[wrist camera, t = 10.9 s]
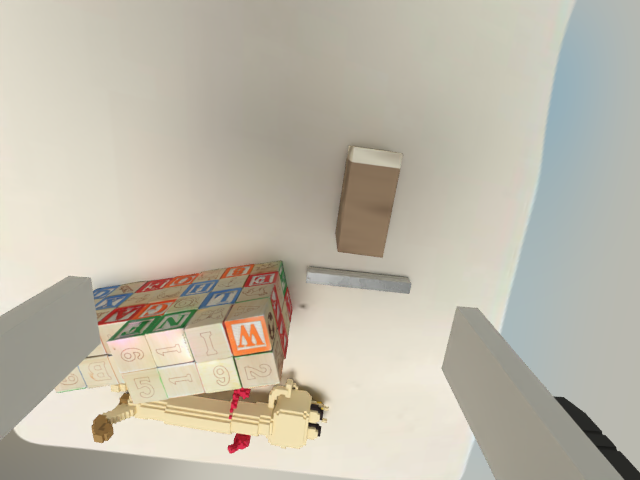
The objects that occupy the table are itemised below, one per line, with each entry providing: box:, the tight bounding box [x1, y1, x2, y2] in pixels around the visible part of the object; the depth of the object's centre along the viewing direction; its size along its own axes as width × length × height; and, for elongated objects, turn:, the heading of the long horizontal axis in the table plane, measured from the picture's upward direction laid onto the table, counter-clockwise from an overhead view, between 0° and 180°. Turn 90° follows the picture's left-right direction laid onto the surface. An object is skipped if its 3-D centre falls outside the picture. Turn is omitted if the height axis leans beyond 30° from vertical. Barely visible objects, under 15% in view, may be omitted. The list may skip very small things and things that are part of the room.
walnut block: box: [335, 145, 403, 258], centre depth 31 cm, size 6×4×9 cm
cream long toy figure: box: [92, 379, 329, 453], centre depth 37 cm, size 10×9×25 cm
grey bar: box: [306, 267, 411, 294], centre depth 36 cm, size 1×11×2 cm, turn 84°
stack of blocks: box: [54, 261, 292, 404], centre depth 32 cm, size 21×6×12 cm, turn 99°
